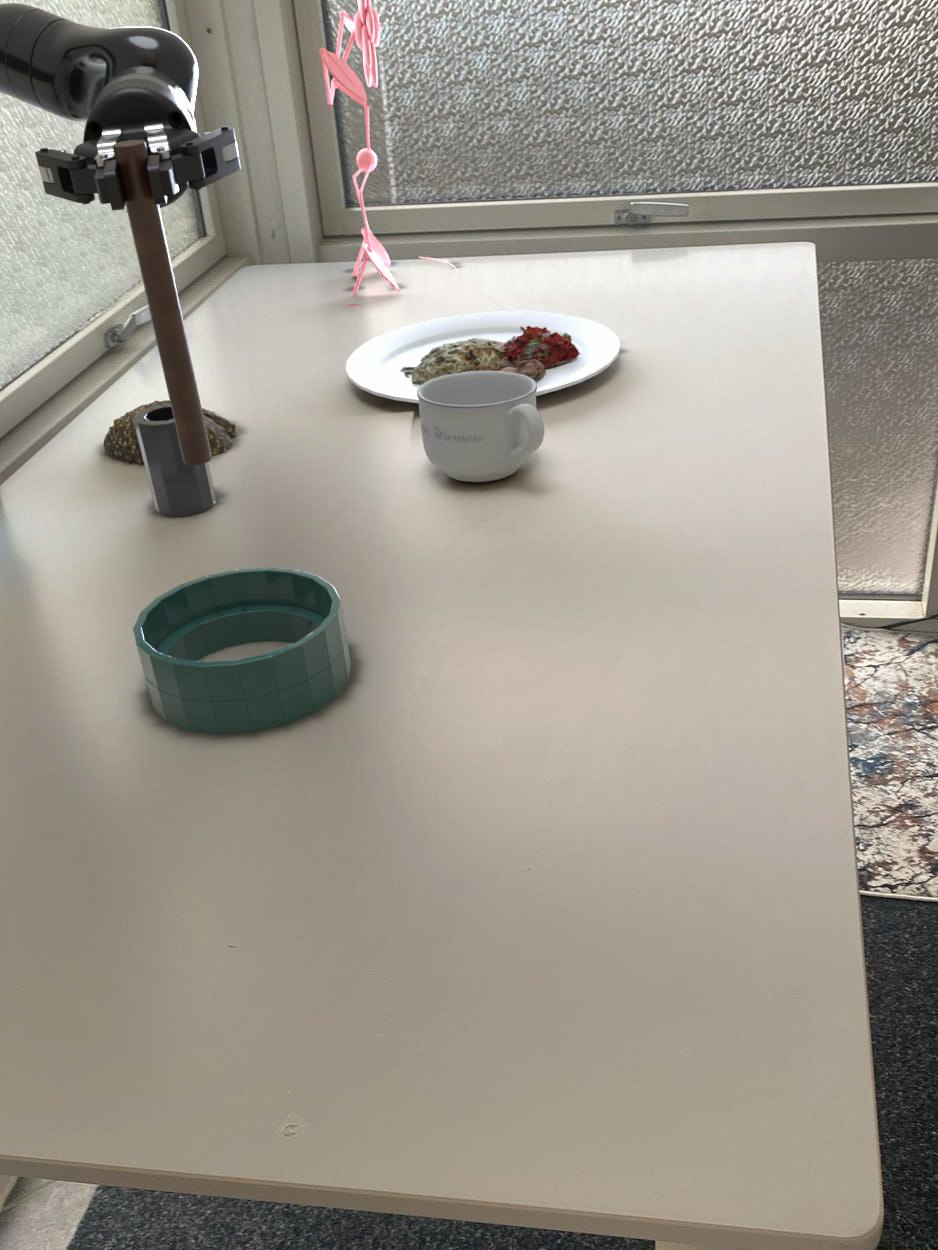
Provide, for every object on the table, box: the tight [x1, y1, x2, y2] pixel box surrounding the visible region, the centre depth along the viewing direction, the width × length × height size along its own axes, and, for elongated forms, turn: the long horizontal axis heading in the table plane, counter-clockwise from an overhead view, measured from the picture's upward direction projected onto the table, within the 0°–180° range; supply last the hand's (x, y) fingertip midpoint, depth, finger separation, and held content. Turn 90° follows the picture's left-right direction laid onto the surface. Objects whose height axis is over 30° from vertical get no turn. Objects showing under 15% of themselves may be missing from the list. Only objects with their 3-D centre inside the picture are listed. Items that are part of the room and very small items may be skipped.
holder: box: [134, 403, 217, 518], centre depth 119 cm, size 5×5×9 cm
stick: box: [113, 140, 213, 465], centre depth 87 cm, size 2×2×20 cm
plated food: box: [345, 310, 621, 404], centre depth 146 cm, size 30×30×3 cm
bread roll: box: [103, 399, 238, 466], centre depth 134 cm, size 13×12×5 cm
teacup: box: [417, 371, 545, 483], centre depth 121 cm, size 14×11×8 cm
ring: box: [132, 566, 352, 735], centre depth 94 cm, size 14×14×6 cm
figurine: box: [318, 0, 461, 307], centre depth 167 cm, size 15×26×35 cm, turn 5°
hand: (134, 188), depth 80 cm, fingers closed on stick, 2 cm apart
